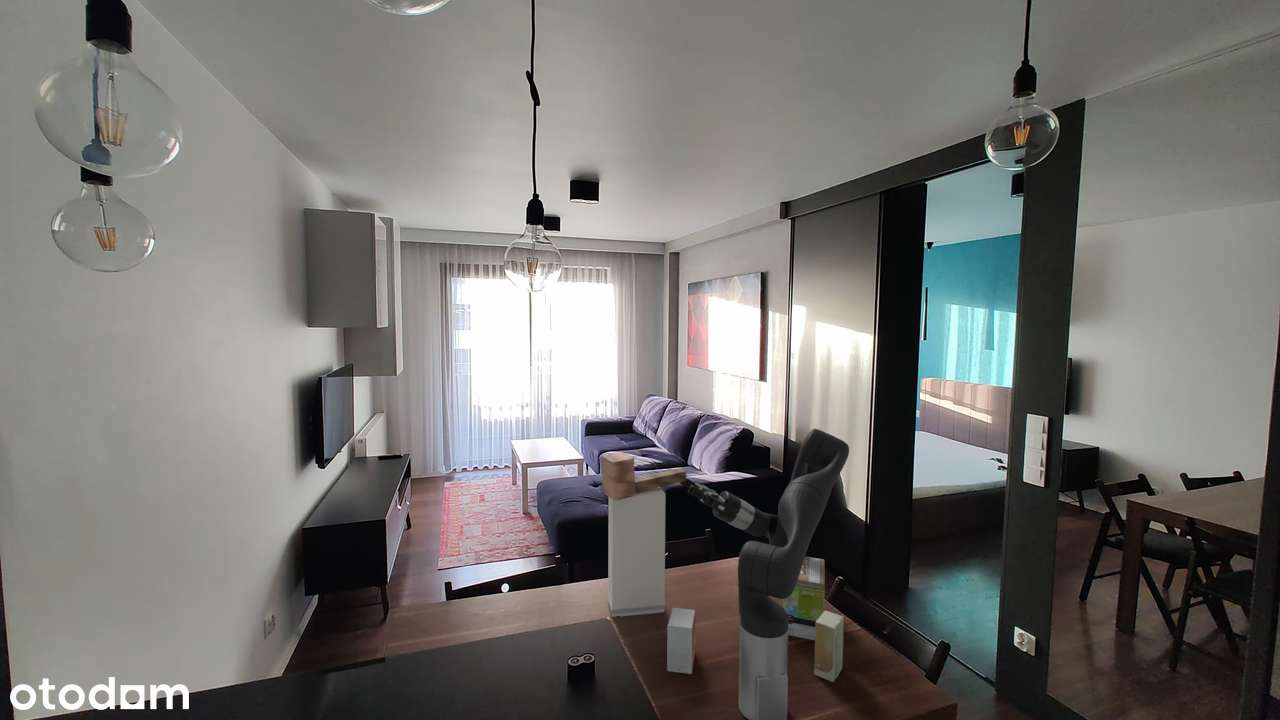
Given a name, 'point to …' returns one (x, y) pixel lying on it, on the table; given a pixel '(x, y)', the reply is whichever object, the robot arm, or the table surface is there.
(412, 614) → the table surface
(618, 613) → the pedestal
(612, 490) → the mallet
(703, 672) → the table surface
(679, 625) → the small box
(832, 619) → the skincare box
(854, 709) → the table surface
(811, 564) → the green coffee box
